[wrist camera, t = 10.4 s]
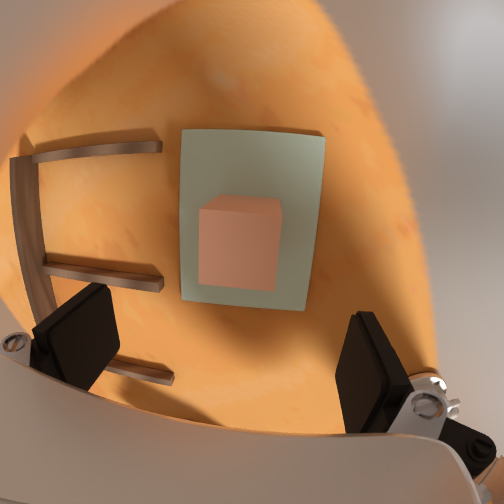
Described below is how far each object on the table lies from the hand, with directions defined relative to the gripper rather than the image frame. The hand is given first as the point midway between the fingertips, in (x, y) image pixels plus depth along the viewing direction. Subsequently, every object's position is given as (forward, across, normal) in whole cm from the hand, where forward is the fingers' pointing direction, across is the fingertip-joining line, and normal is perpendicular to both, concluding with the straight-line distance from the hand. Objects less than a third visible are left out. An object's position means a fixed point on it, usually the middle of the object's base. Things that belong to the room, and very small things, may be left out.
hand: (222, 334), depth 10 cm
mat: (+16, +1, -1) cm, 16 cm away
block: (+15, +1, -1) cm, 15 cm away
